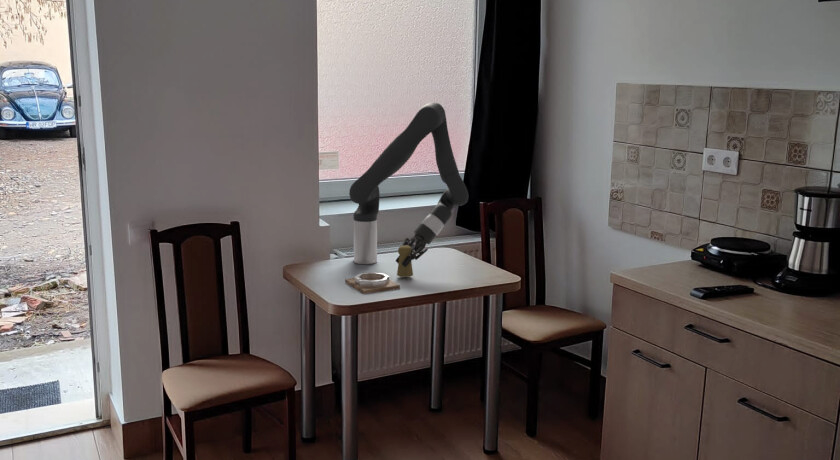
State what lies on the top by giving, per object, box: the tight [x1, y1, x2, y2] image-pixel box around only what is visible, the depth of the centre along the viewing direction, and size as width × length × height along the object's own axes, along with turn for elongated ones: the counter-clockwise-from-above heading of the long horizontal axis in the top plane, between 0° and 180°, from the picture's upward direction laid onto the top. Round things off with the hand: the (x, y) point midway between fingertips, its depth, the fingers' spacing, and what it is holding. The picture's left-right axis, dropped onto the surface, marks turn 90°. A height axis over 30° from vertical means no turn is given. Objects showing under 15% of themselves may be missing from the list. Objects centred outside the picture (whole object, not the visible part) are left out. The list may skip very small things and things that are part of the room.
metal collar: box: [354, 271, 390, 287], centre depth 278 cm, size 11×11×2 cm
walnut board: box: [344, 277, 401, 295], centre depth 278 cm, size 16×14×1 cm
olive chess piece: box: [396, 245, 414, 278], centre depth 287 cm, size 6×6×11 cm
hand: (400, 263), depth 286 cm, fingers closed on olive chess piece, 4 cm apart
